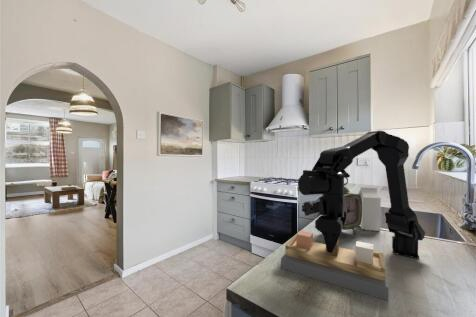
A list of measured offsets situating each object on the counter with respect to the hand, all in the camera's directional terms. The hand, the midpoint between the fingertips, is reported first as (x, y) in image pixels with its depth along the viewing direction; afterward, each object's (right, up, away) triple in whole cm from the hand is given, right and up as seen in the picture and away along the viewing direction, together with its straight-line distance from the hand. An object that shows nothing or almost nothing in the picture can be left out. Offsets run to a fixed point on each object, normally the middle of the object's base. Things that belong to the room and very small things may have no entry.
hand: (332, 246), depth 62 cm
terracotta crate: (-7, -2, +4) cm, 8 cm away
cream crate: (+7, -2, -4) cm, 8 cm away
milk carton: (+33, -7, +37) cm, 50 cm away
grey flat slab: (0, -7, 0) cm, 7 cm away
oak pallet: (0, -4, 0) cm, 4 cm away
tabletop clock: (+17, -7, +29) cm, 35 cm away
